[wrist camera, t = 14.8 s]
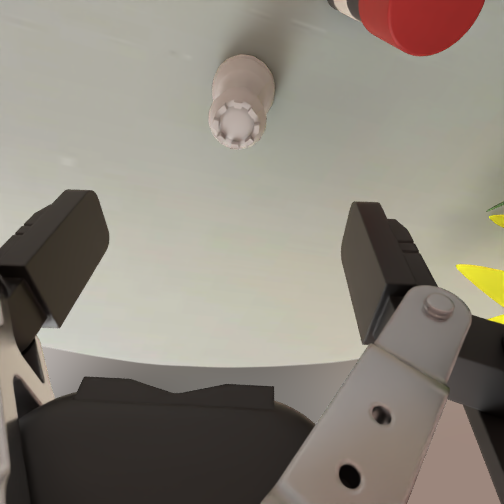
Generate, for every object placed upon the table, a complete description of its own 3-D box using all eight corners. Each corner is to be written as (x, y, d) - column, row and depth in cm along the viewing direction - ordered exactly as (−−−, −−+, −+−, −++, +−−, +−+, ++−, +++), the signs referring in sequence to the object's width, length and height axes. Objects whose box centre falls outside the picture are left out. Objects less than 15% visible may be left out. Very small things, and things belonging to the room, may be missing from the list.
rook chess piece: (257, 39, 22) (254, 63, 16) (285, 102, 25) (291, 144, 18) (201, 73, 24) (178, 107, 17) (232, 130, 26) (221, 177, 20)
